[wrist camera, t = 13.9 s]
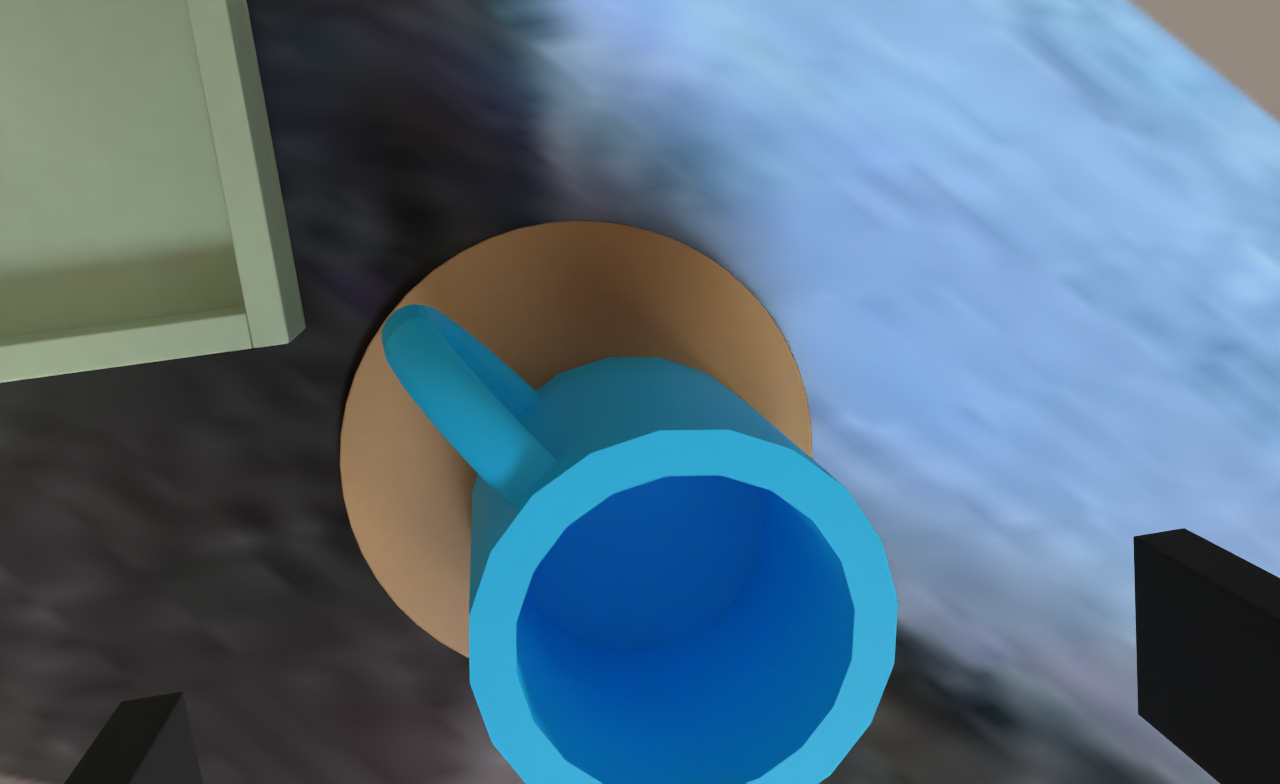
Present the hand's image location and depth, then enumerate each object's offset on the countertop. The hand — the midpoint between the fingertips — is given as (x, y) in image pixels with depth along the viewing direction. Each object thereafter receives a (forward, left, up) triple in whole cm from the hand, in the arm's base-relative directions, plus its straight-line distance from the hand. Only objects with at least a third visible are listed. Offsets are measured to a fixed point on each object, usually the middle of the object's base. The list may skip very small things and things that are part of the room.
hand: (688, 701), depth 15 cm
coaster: (0, 0, -14) cm, 14 cm away
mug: (0, 0, -14) cm, 14 cm away
